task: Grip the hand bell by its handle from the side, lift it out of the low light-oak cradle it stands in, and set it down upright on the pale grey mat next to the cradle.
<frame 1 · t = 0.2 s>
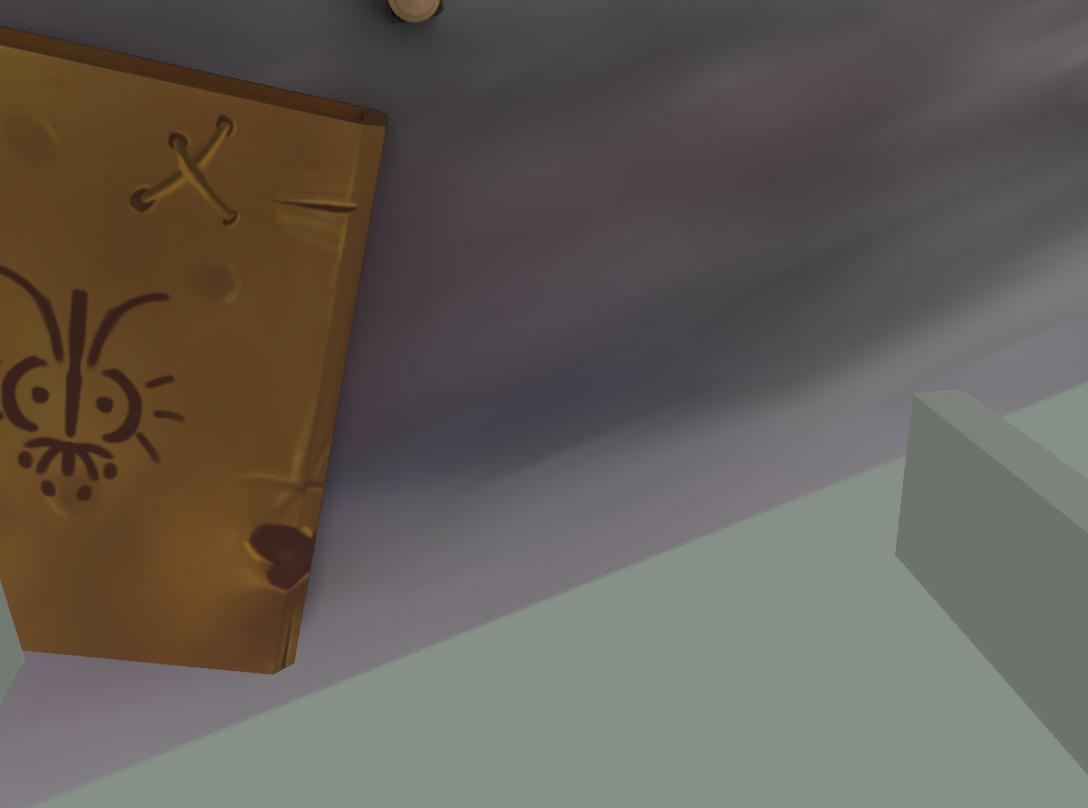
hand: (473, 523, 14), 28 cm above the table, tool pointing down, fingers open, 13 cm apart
diary: (113, 340, 41), on the table
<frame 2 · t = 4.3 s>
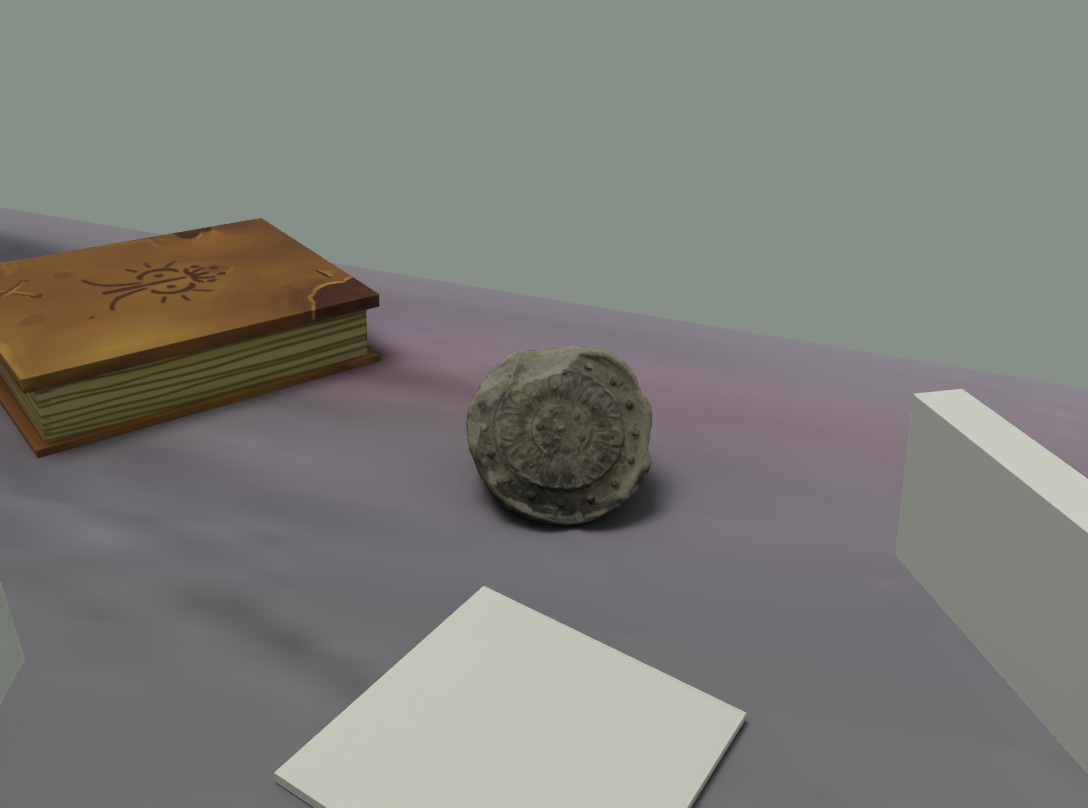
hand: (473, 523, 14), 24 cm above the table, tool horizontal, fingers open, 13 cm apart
diary: (170, 357, 70), on the table
fossil: (554, 487, 59), on the table
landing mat: (522, 749, 41), on the table
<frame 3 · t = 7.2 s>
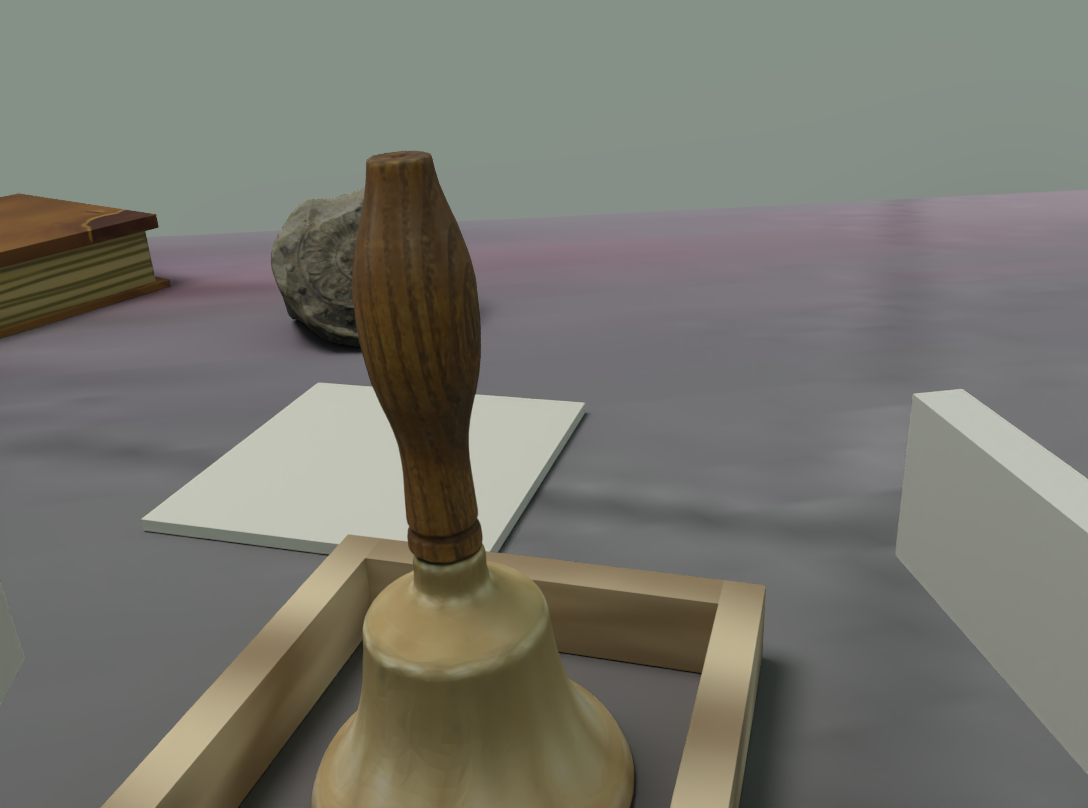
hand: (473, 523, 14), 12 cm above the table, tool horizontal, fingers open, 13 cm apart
bell cradle: (474, 777, 26), on the table
hand bell: (474, 785, 26), resting in bell cradle
fossil: (371, 330, 60), on the table
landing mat: (385, 465, 43), on the table
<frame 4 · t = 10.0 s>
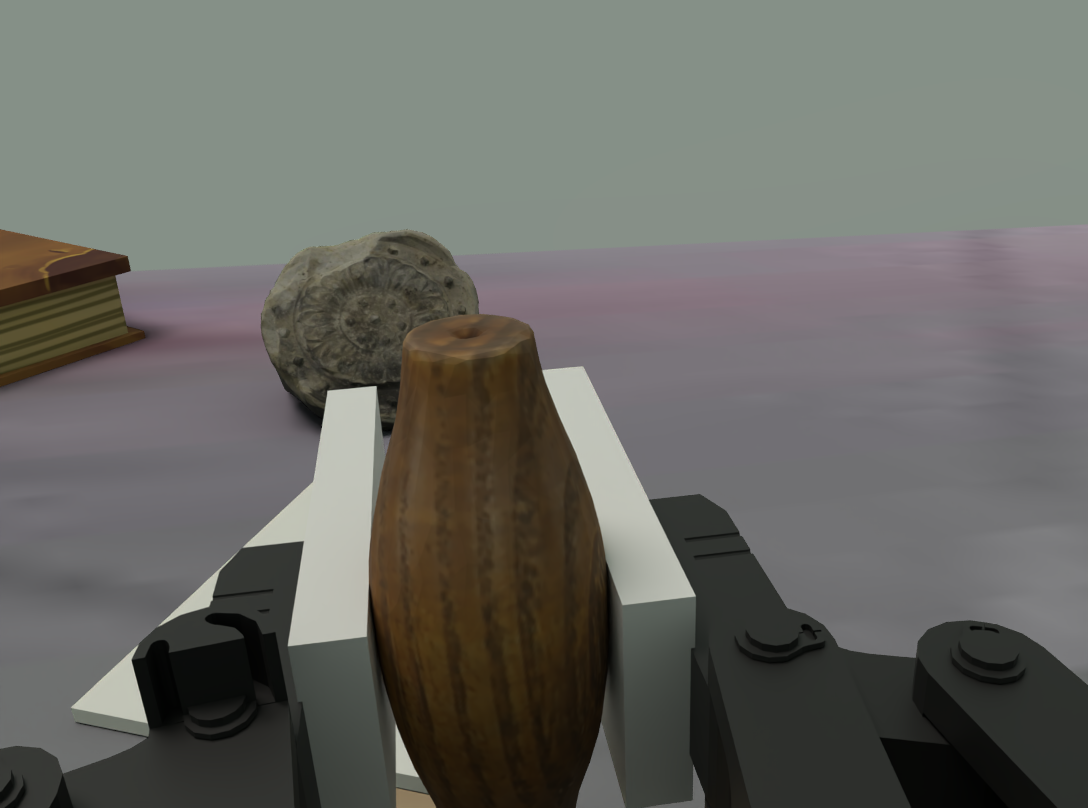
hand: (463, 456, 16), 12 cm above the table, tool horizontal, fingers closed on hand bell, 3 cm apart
fossil: (383, 402, 50), on the table
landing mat: (398, 614, 33), on the table
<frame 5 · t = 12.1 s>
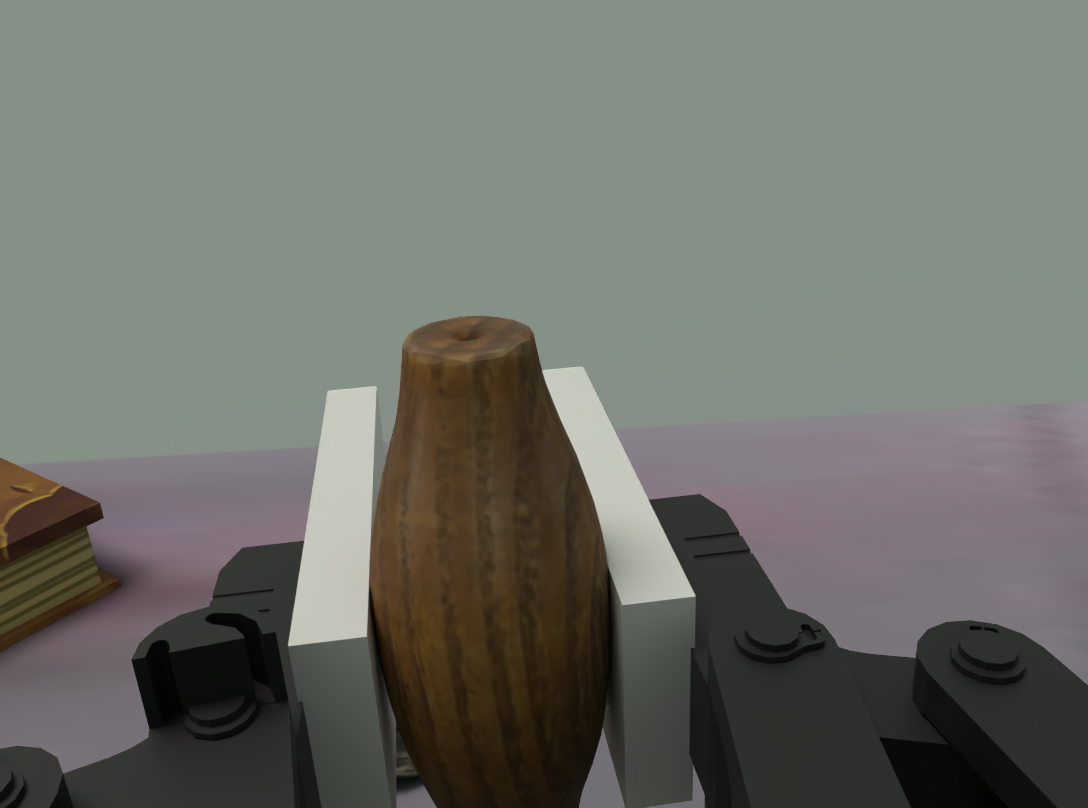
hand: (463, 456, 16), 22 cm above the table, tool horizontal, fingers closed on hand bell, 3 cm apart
fossil: (402, 714, 43), on the table
when the fingers open (14 cm above the table, at t = 14.6 s): hand bell drops 2 cm, resting on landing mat.
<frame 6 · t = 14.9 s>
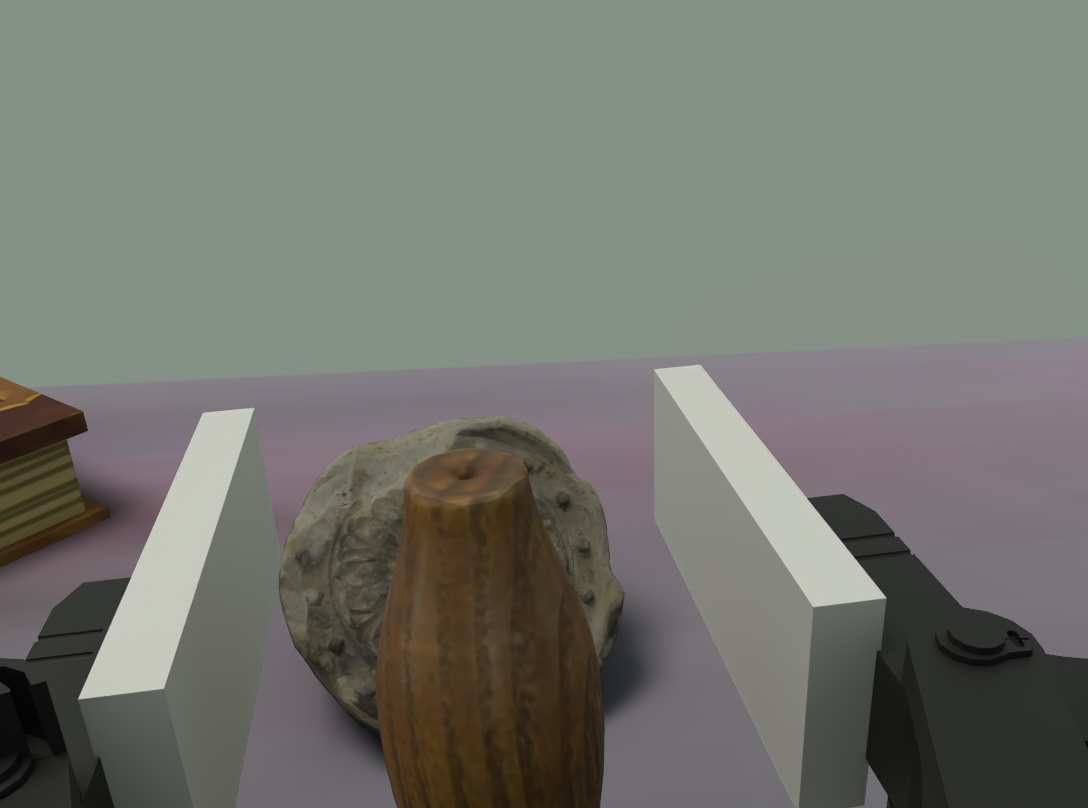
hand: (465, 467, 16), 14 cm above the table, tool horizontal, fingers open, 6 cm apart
fossil: (459, 670, 34), on the table
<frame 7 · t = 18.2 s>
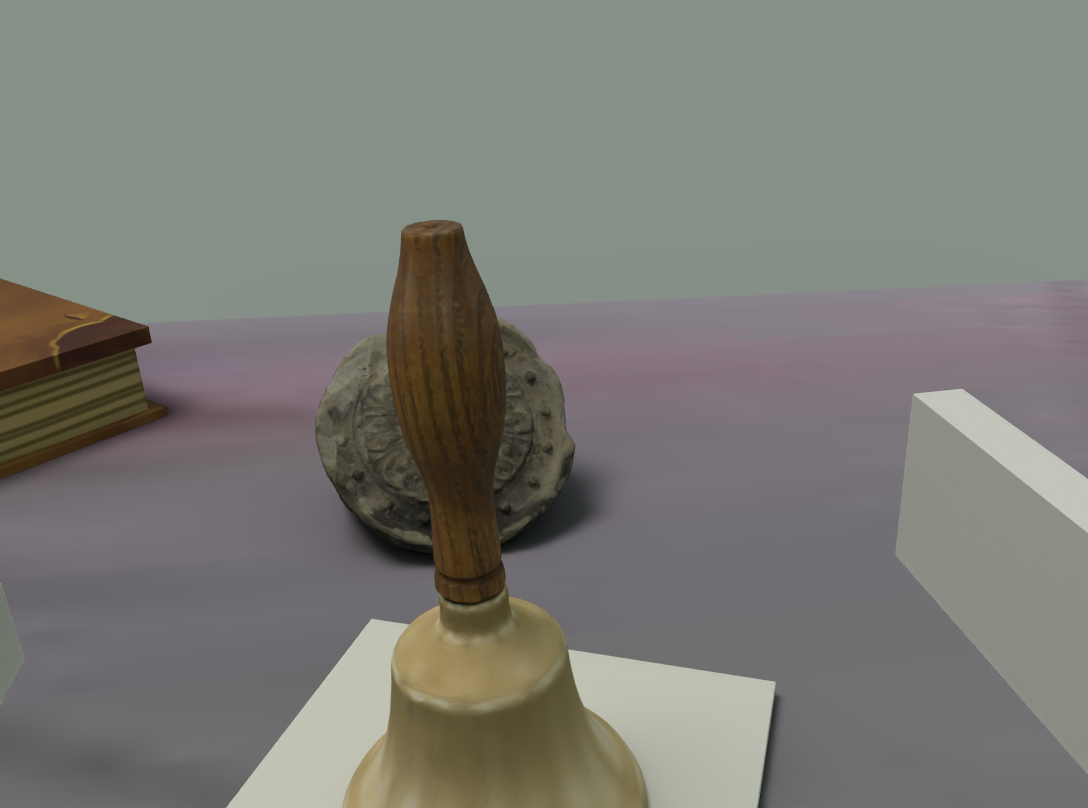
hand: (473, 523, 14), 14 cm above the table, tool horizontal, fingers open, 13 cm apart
fossil: (451, 511, 44), on the table
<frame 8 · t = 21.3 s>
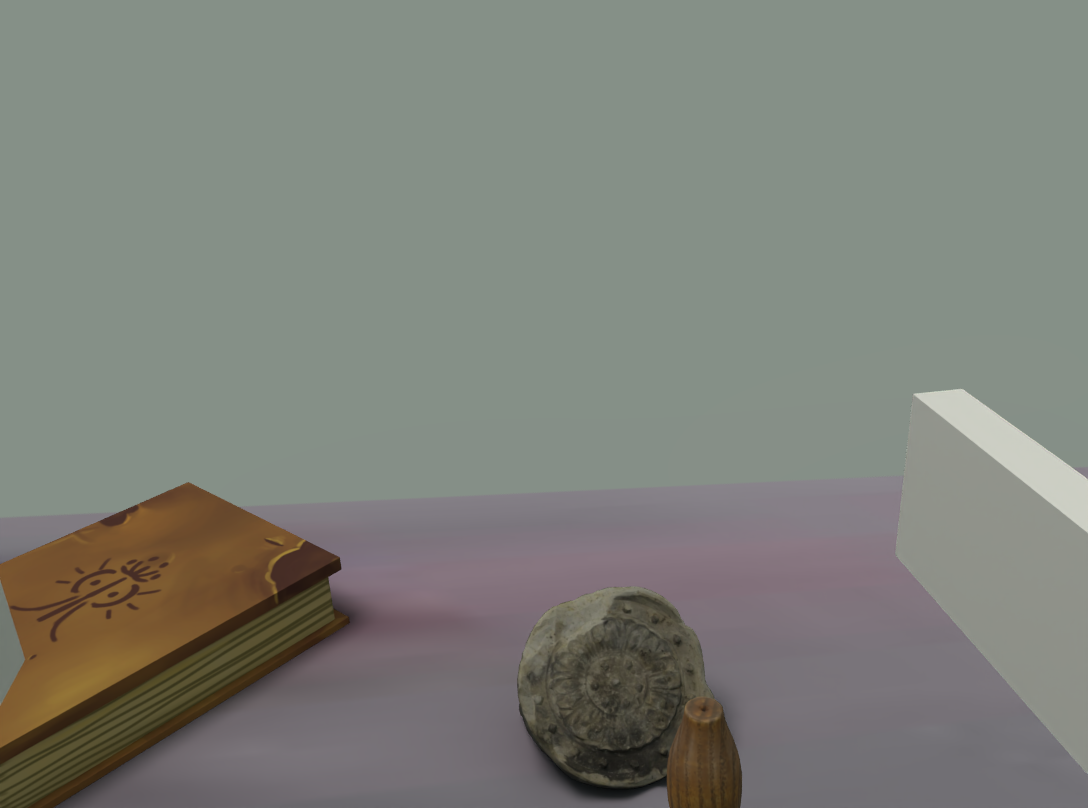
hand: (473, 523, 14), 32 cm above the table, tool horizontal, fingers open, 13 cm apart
diary: (119, 665, 64), on the table
fossil: (611, 737, 56), on the table
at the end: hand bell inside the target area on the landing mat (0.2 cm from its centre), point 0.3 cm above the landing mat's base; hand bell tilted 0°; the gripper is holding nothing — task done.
